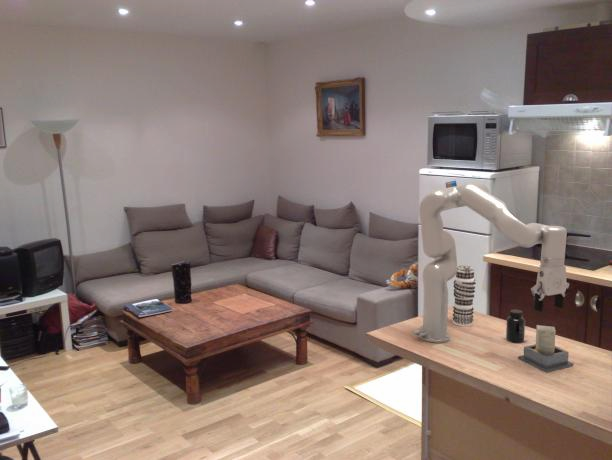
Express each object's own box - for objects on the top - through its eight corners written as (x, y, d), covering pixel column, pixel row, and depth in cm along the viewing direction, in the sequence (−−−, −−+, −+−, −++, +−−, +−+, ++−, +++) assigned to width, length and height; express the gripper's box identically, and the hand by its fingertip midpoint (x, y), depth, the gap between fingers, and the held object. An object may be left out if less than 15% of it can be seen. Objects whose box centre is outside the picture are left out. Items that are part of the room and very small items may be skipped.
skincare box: (553, 358, 202) (555, 326, 200) (553, 363, 198) (556, 330, 195) (534, 356, 204) (536, 324, 202) (534, 361, 200) (536, 328, 198)
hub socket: (546, 372, 192) (547, 357, 191) (517, 359, 204) (518, 344, 203) (573, 366, 198) (574, 351, 197) (543, 353, 209) (544, 338, 208)
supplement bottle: (521, 337, 225) (523, 308, 223) (526, 343, 219) (528, 314, 217) (503, 336, 226) (505, 308, 224) (508, 343, 219) (509, 313, 217)
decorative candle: (477, 322, 243) (479, 266, 239) (468, 327, 236) (471, 270, 232) (457, 317, 249) (459, 263, 245) (448, 323, 242) (450, 267, 238)
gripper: (542, 266, 188) (539, 315, 191) (579, 261, 195) (575, 308, 198) (525, 261, 194) (522, 308, 197) (561, 257, 201) (557, 302, 204)
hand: (548, 308), depth 197 cm, fingers open, 9 cm apart
